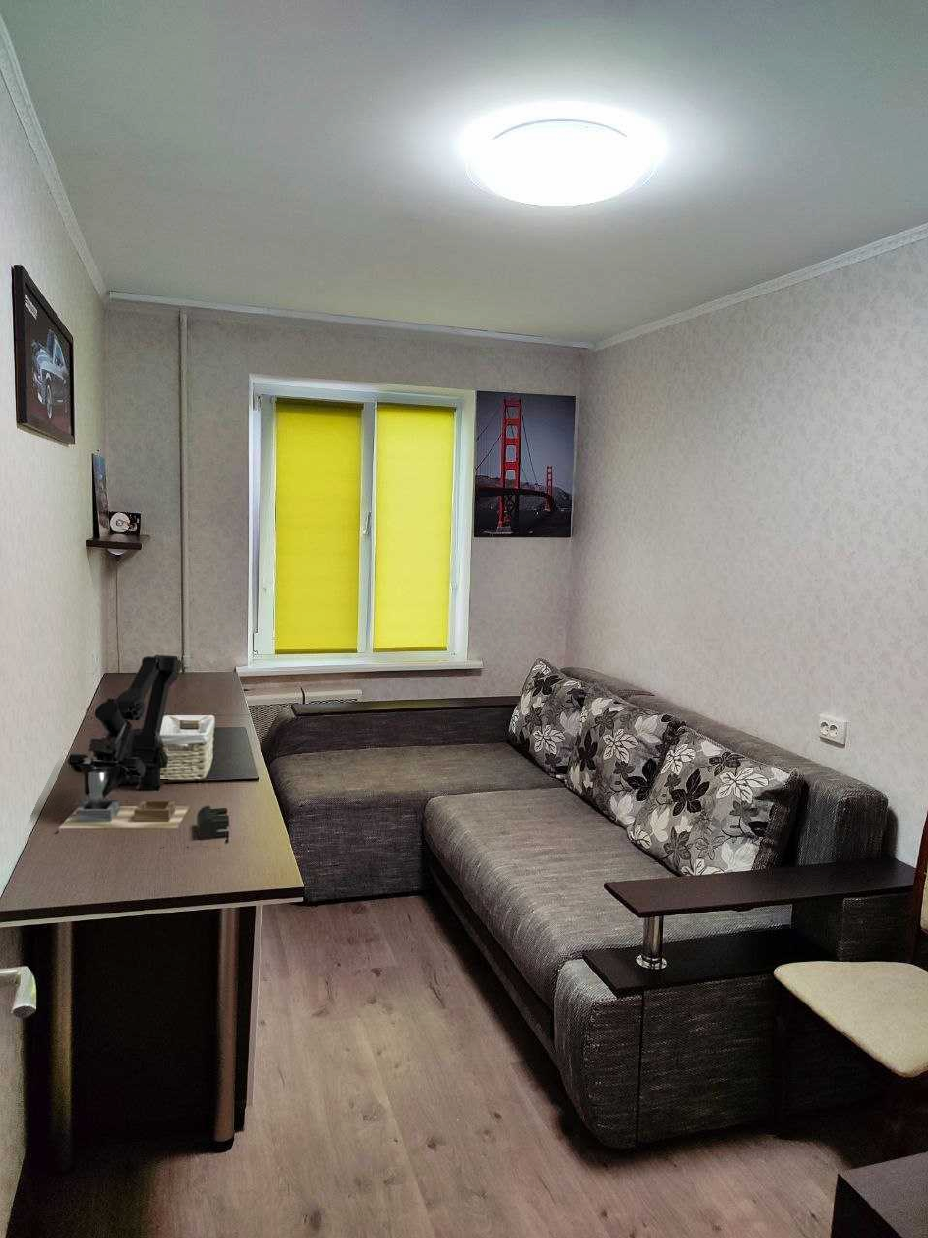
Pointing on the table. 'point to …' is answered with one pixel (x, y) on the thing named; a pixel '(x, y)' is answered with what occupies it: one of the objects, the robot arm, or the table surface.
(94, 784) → the grey long rounded piece
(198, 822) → the end cap
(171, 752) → the storage basket
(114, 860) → the table surface
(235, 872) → the table surface
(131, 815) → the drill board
